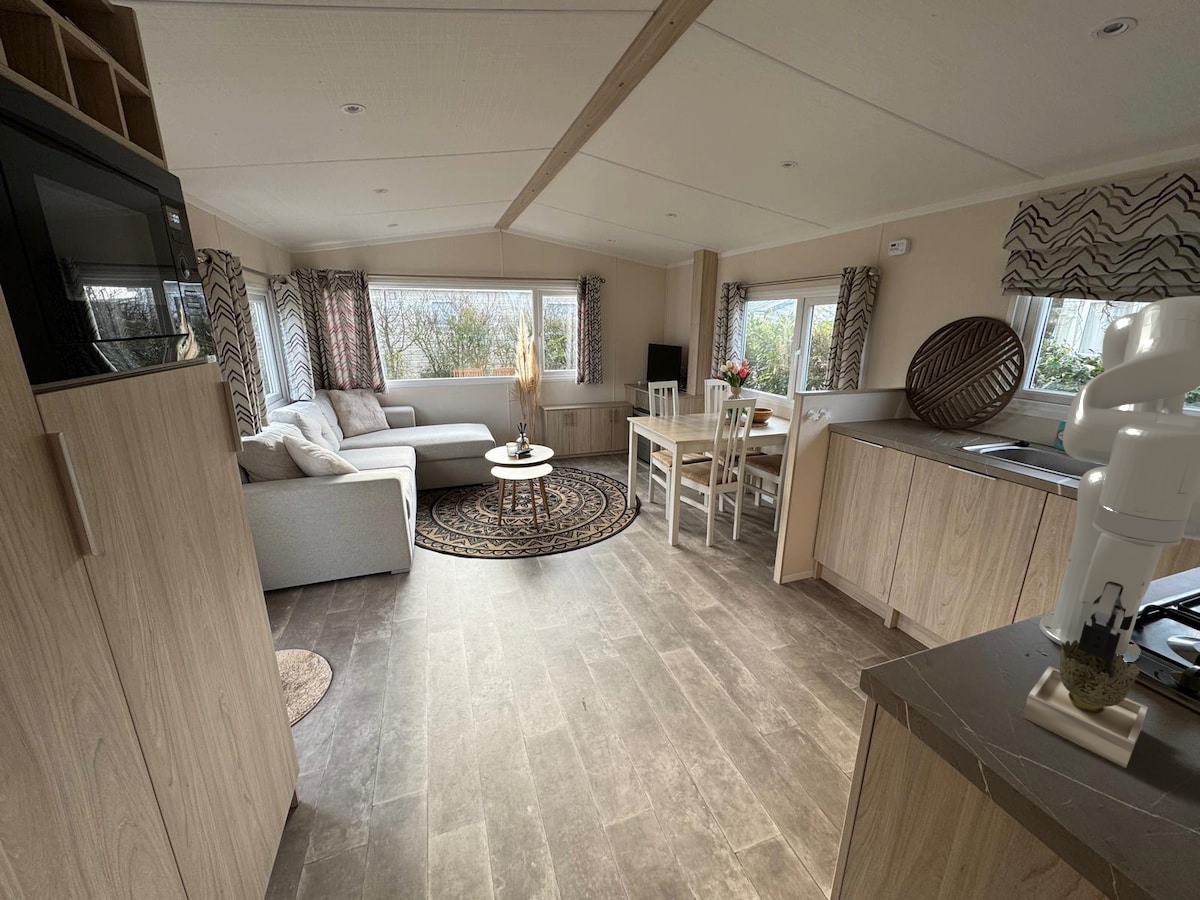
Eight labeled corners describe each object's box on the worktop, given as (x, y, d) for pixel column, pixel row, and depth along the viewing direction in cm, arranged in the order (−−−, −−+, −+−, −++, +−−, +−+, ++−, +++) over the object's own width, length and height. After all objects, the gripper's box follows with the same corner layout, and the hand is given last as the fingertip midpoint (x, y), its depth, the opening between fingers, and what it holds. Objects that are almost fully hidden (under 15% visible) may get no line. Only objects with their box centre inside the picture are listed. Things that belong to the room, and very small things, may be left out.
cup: (1140, 731, 63) (1156, 679, 61) (1074, 722, 64) (1088, 671, 63) (1095, 690, 70) (1109, 642, 68) (1037, 683, 72) (1048, 636, 70)
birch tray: (1044, 686, 74) (1049, 665, 73) (1140, 729, 66) (1148, 707, 65) (1022, 717, 69) (1028, 695, 68) (1125, 768, 61) (1133, 744, 60)
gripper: (1110, 497, 68) (1082, 603, 73) (1078, 531, 58) (1047, 651, 63) (1193, 513, 62) (1156, 627, 67) (1172, 554, 52) (1131, 685, 57)
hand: (1103, 639), depth 65 cm, fingers open, 9 cm apart
